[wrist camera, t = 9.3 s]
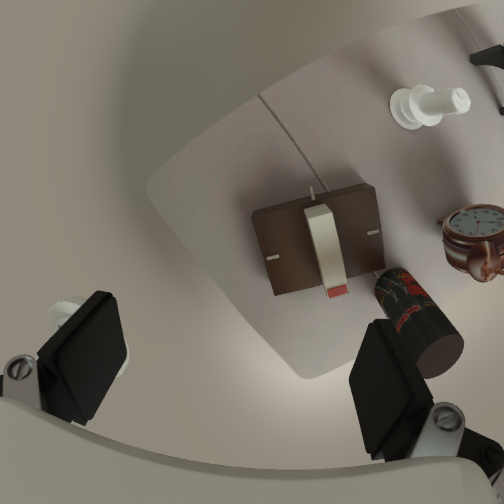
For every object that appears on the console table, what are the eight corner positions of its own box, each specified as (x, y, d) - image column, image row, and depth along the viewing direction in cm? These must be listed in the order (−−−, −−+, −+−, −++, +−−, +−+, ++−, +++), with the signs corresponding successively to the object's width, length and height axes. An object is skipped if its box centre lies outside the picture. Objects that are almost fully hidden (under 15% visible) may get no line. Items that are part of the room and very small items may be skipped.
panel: (277, 294, 37) (277, 307, 34) (248, 198, 32) (246, 204, 29) (379, 269, 34) (387, 280, 31) (363, 170, 30) (372, 172, 27)
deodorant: (366, 290, 36) (405, 366, 22) (396, 259, 34) (451, 324, 20) (390, 312, 37) (429, 385, 23) (418, 283, 35) (470, 348, 21)
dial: (303, 209, 29) (308, 219, 25) (324, 203, 29) (332, 212, 25) (322, 281, 32) (328, 300, 28) (341, 276, 32) (349, 294, 28)
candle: (381, 110, 27) (433, 98, 16) (401, 80, 25) (454, 58, 14) (414, 138, 28) (472, 141, 17) (432, 108, 26) (491, 101, 15)
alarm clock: (478, 195, 29) (551, 227, 15) (482, 225, 30) (548, 266, 17) (422, 219, 31) (492, 267, 17) (428, 251, 33) (490, 308, 19)
